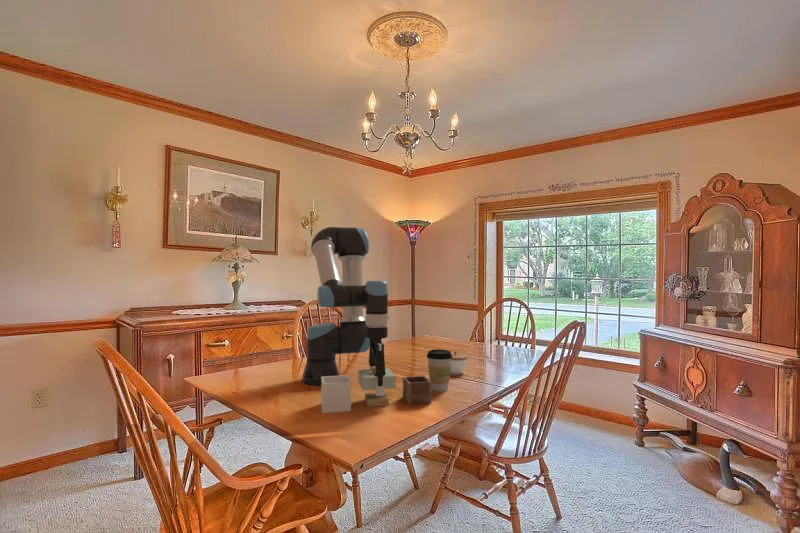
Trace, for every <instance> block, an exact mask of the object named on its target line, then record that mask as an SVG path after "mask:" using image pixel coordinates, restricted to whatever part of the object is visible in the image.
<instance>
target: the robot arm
mask: <svg viewBox="0 0 800 533" xmlns="http://www.w3.org/2000/svg"><path fill="white" fill-rule="evenodd" d="M368 236H369V235H368V234H367V231H366V230H365V229H363V228H361V227H355V226H354V227H347V226H345V227H343V226H342V227H338V226H337V227H336V226H328V227H325V228H322V229H321V230H319V231H318V232H317V233H316V234H315V235H314V237H313V239H312V241H311V243H310V244H311V245H310V249H311V253H312V256H313V257H314V258H315V260H316V267H317V271H318V276H319V281H320V286H318V288H317V293H316V295H317V303H318V306H319V307H321V308H331V309H332V308H342V319H340V320H339V325H336V322H321V323H317V324H313V325H311V326H309V327H308V329H307V331H306V338H305V339H306V364H305V368H304V370H303V374H302V379H301V380H302V381H303V382H304V383H303V382H302V383H303V384H305V383H306V384H305V385H309V384H311V386H321V377H323V376H341V375H340V372H339V367H338V366H337V362H336V355H342V354H343V355H344V354H359V353H366V352H367V351H368V353H369V354H368V365H369V369H372V366H376V374H374V376H375V392H374V393H375V396H383V395H384V392H385V389H384V375H385V374H386V373H385V368H386V363H385V362H386V361H385V344H384V343H383V342H382V339H387V338H388V337H389V336H388V335H389V334H388V332H389V331H388V330H389V327H388V326H387V325H388V319H390V316H389V315H388V312H389V311H388V307H389V303H388V302H389V299H388V298H389V297H388V296H389V287H388V282H387V281H386V280H367V281H366V283H365V284H364V285H363V263H362V262H363V261H364V260H365V259H366V255H368V253H369V252H370V250H369V249H370V242H369V237H368ZM336 255H338V256H337V257H338V260H339V261H340V262H341V271H342V274H341V273H340V271H339V266H338V263H337V259H336ZM340 274H341V275H342V276H341V275H340ZM364 307H365V317H364ZM379 371H382V372H379Z"/></svg>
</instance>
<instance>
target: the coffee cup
mask: <svg viewBox="0 0 800 533" xmlns="http://www.w3.org/2000/svg"><path fill="white" fill-rule="evenodd" d="M451 353H452V352H451V350H448V349H438V348H436V349H430V350H428V351H427V354H426V358H427V362H428V363H427V366H428V377H429V380H430V381H431V391H433V392H437V393H440V392H443V393H444V392H447V391H448V390H449V383H450V378H451V377H450V376H451V374H450V370H451V358H452V354H451Z"/></svg>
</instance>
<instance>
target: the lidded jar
mask: <svg viewBox="0 0 800 533" xmlns="http://www.w3.org/2000/svg"><path fill="white" fill-rule="evenodd" d="M451 354H452V358H451V370H450V375H462V374H463V372H465V370H466V369H467V365H468V355H467V354H465V353H461V352H459V353H458V352H457V351H454V352H451Z"/></svg>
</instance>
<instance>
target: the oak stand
mask: <svg viewBox="0 0 800 533" xmlns="http://www.w3.org/2000/svg"><path fill="white" fill-rule="evenodd" d="M364 401H365V404H366V406H367V407H368V408H369V407H380V406H389V403H390V402H389V396H388V395H387V393H386V392H385V391H384V395H383V396H375V392H370V393H369V392H368V393H364Z"/></svg>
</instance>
